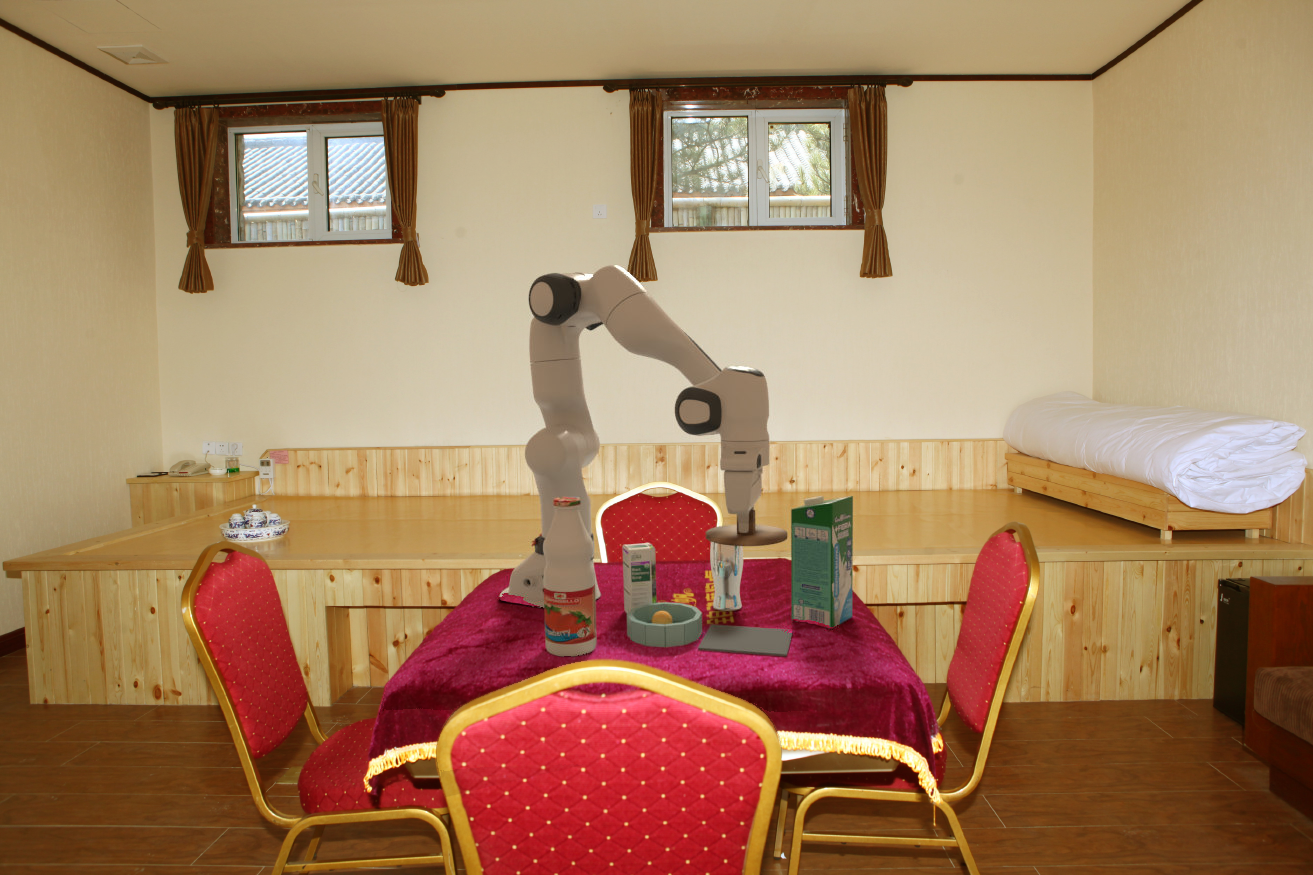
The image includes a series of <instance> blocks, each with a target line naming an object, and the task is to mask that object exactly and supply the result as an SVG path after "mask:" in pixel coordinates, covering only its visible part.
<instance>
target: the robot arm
mask: <svg viewBox="0 0 1313 875" xmlns="http://www.w3.org/2000/svg"><path fill="white" fill-rule="evenodd" d="M528 306H529V310H530V312H531V314H532V315H533V318H532V320H531V322H530V328H529V329H530V330H529V344H528V345H529V347H528V348H529V350H528V351H529V362H530V363H529V364H530V374H531V376H530V377H531V382H532V393H533V398H534V401H535V403H536V405H537V406H538V407H539V409H540V413H541V415H542V418H543V421H544V424H545V427H544V428H541V429H540V430H538V431H537V432H536V433H535V434H534V435H533V436H532V437H531V438H529V440H528V441H527V443H526V445H525V450H524V457H525V458H524V459H525V461H526V464H527V466H528V468H529V469H530V470H531V472H532V474H533V477H534V481H535V484H536V488H537V493H538V497H539V504H540V517H541V518H540V521H541V533H540V534H539V535H538V536H537V537H535V538H534V540H532V541H531V543H532V544H531V547H534V552H532V553H531V554H530V555H529V556H528V557H526V558H525V559H524V560H523V561H522V562H520V563H519V564H518V565H516V567H515V568H514V569H513V570H512V572H511V574H510V579H509V585H508V587H506V588H505V589H503V590H502V591H501V593H500V594H499V597H502V596H503V595H502V594H504V593H508V594H509V595H515V596H521V597H524V598H523V600H524V601H526V602H528V603H531V604H534V605H537V606H540V607H539V608H541V607H543V609H544V586H543V576H544V569H545V567H546V559H545V556H544V552H543V543H544V540H545V538H546V536H547V535H548V533H549V530H550V528H551V525H552V521H553V518H554V514H555V508H554V505H553V500H554V499H555V498H558V497H568V496H571V497H579V498H580V501H581V504H580V508H579V512H580V515H581V518H582V521H583V523H584V526H585V528H586V530H587V532H588V533H589V535H590V536H591V538H592V541H593V553H592V557H591V563H592V566H593V568H594V573H595V574H596V570H595V562H594V559H595V540H594V533H593V532H592V507H591V506H592V504H591V503H592V502H591V498H590V496H589V494H588V492H587V489H586V485H585V482H584V477H583V469H584V468H586V467H587V466H589V465H590V464H591V463H592V462H593V460H594V459H595V458H596V457H597V455H598V453H599V450H600V444H601V443H600V437H599V436H598V433H597V432H596V430H595V428H594V425H593V421H592V417H591V414H590V411H589V406H588V403H587V398H586V394H585V389H584V379H583V367H582V359H581V351H580V335H581V333H582V332H583V330H584V329H586V330H588V331H594V330H595V329H597V328H598V327H600V326H603V325H604V327H605V328H606V329H607V331H608V332H609V334H610V336H612V338H613V339H614V340H615V341H616V342H617V343H618V344H619V345H620V346H621V347H623V348H624V349H625V350H627V352H629V353H631V354H634V355H637V356H642V357H646V358H650V359H654V360H658V361H660V362H663V363H666V364H668V365H670V366H672V367H674V368H675V369H676V370H678V371H679V372H680V373H681V374H682V375H683V376H684V377H685V378H686V379H687V380H688V381H689V382H690V384H691V385H692V386H689V387H685V388H684V389H683V390H682V391H681V392H680V393H679V394H678V395H677V398H676V400H675V403H674V416H675V420H676V422H677V425H678V426H679V428H680V429H681V430H682V431H683V432H685V434H687V435H689V436H690V435H692V436H697V437H701V436H713V435H719V436H720V462H719V463H720V464H719V468H720V471H723V482H724V483H723V484H724V497H725V498H724V499H725V506H726V510H727V512H728V514H730V515H736V520H737V519H738V525H739V532H740V533H747V532H748V531H749V511H750V510H755V504H756V503H757V502H758V500H759V499H760V498H761V496H762V491H763V489H762V488H763V484H762V474H763V467H766V466H769V465H770V435H769V431H768V420H769V416H770V402H769V401H770V400H769V399H770V397H769V388H768V382H767V379H766V376H765V374H764V373H763V372H762V371H761V370H759V369H757V368H754V367H750V366H740V365H729V366H726V367H724V368H723V369H721V368H720V366H718V364H717V363H716V362H715V361H714V360H713V359H712V358H711V357H710V356H709V355H708V354H707V352H705V351H704V350H703V349H702V348H701V347H700V345H698V343H697V342H696V341H695V340H693V339H692V337H690V336H689V335H688V334H687V332H685V331H684V330H683V329H682V328H681V327H680V326H679V325H678V324H677V323H676V322H675V321H674V320H673V319H672V318H671V317H670V316H669V315H668V314H667V313H666V311H665V310H664V309H663V308H662V307H661V305H659V303H658V302H657V301H656V300H655V299H654V297H653V296H652V294H650V293H649V291H648V290H647V289H646V288H645V287H644V285H642V284H641V282H639V280H638V279H636V278H635V277H634V276H633V275H632V274H631V273H630V272H628V271H627V270H626V269H624V268H623V267H621V266H619V265H616V264H613V265H610V264H609V265H605V266H603V267H601V268H599V269H597V270H596V271H595V272H594V273H593V274H592V273H586V272H570V273H569V272H568V273H566V272H565V273H559V272H551V273H546V274H542V275H540V276H538V277H537V278H536V279H535V280H533V282H532V284H531V286H530V289H529V292H528ZM601 595H602V594H601V591H600V589H599V585H598V581H597V576H596V575H595V599H596V600H597V599H599V598H600V597H601Z"/></svg>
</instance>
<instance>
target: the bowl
mask: <svg viewBox="0 0 1313 875" xmlns="http://www.w3.org/2000/svg"><path fill="white" fill-rule="evenodd" d="M658 611H666V612H668V613H669V614H670V615H671V617H672V621H673V622H672V624H653V623H652V617H653V615H654V614H655V613H656V612H658ZM701 633H702V634H703V613H702V611H700V610H699V608H697V607H696V606H693V605H690V604H686V603H682V602H669V601H667V602H665V601H663V602H657V603H651V604H644V605H641V606H638V607H635V608H632V609H631V610H630V611H629V612H628V614H627V613H626V634H627V637H628V638H629V637H630V638H629V640H630V641H631V640H632V641H631V642H633V641H634V642H633V643H636V644H639V645H641V646H645V647H658V648H670V647H680V646H686V645H689V644H691V643H694V642H696V641H698V640H700V638H701V636H702V634H701ZM700 635H701V636H700ZM699 637H700V638H699ZM697 639H698V640H697Z"/></svg>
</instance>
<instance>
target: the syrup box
mask: <svg viewBox="0 0 1313 875" xmlns="http://www.w3.org/2000/svg"><path fill="white" fill-rule="evenodd" d="M656 562H657V560H656V547H654V546H653V544H651V543H650V542H645V543H633V544H631V543H630V544H623V545H622V569H623V573H622V574H623V601H624V602H623V604H624V611H625V613H626V615H627V614H628V612H629V611H630V610H631V609H632V608H635V607H638V606H641V605H644V604H651V603H658V602H657V599H658V598H657V569H656V568H657V567H656V566H657V565H656V564H657V563H656Z"/></svg>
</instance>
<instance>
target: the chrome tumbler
mask: <svg viewBox="0 0 1313 875" xmlns="http://www.w3.org/2000/svg"><path fill="white" fill-rule="evenodd" d="M743 547H744V546H730V545H723V544H717V543H714V542H711V541H710V549H709V551H710V552H709V554H710V557H709V558H710V561H709V562H710V569H711V576H712V579H713V586H714V597H713V603H712V608H713V609H715V610H717V611H721V612H733V611H738V610H741V609H742V600H741V595H740V594H741V593H740V590H741V588H740V586H741V579H742V574H743V566H744V548H743Z"/></svg>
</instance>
